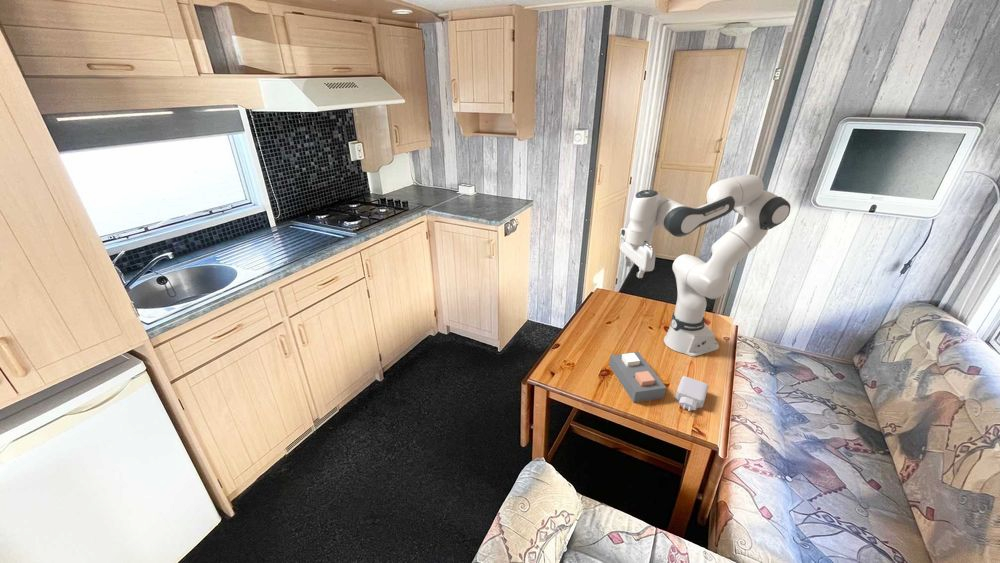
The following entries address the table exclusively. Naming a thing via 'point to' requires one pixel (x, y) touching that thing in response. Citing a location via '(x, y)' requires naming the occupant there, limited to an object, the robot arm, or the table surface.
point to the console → (629, 382)
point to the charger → (691, 393)
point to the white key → (630, 359)
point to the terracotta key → (644, 378)
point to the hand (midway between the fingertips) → (633, 271)
